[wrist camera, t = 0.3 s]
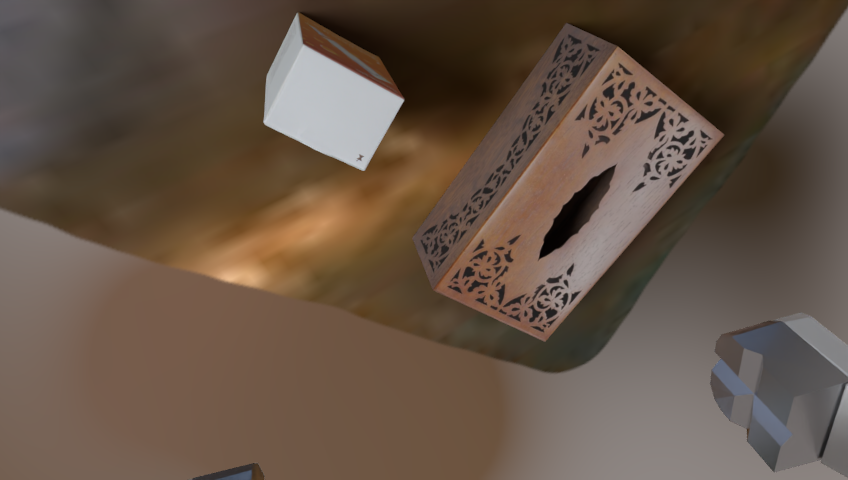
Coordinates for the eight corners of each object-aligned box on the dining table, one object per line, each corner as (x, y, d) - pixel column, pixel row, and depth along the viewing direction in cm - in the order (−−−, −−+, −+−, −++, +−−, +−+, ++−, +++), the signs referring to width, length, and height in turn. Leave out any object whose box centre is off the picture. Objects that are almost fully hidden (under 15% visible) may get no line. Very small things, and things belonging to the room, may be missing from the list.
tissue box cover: (512, 286, 70) (544, 341, 61) (411, 236, 63) (432, 290, 55) (663, 101, 62) (724, 134, 53) (565, 22, 55) (617, 46, 47)
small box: (380, 56, 53) (408, 100, 42) (347, 117, 55) (365, 174, 44) (296, 8, 50) (302, 42, 39) (264, 76, 52) (261, 126, 41)
